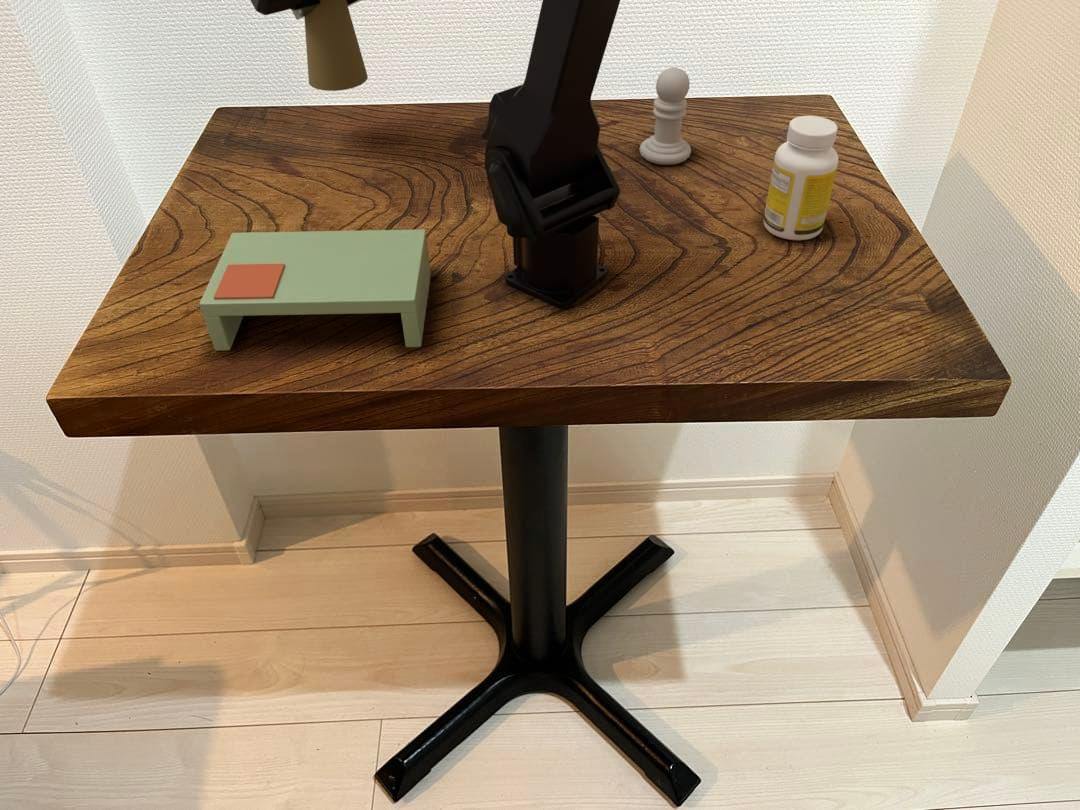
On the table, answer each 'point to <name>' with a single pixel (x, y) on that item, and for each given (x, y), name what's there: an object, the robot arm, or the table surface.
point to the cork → (333, 48)
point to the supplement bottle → (802, 179)
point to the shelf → (319, 278)
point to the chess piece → (668, 120)
